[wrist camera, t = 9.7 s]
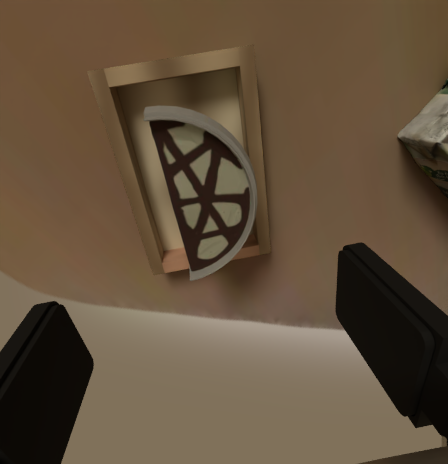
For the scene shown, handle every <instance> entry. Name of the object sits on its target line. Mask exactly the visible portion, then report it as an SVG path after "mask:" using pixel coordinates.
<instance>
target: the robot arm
mask: <svg viewBox="0 0 448 464" xmlns="http://www.w3.org/2000/svg"><path fill="white" fill-rule="evenodd" d="M336 315H337V318H338V320H339V322H340V323H341V325H342V326H343V328H344V329H345V331H346V332H347V334H348V335H349V337H350V338H351V340H352V341H353V343H354V344H355V346H356V347H357V349H358V350H359V352H360V353H361V355H362V356H363V358H364V360H365V361H366V362H367V364H368V366H369V367H370V368H371V370H372V372H373V373H374V375H375V376H376V378H377V379H378V381H379V382H380V384H381V385H382V387H383V388H384V390H385V391H386V393H387V395H388V396H389V397H390V399H391V401H392V402H393V404H394V405H395V407H396V408H397V410H398V411H399V412H400V414H402V415H403V416H408V417H409V419H410V420H411V422H412V423H413V425H414V426H415V428H418V427H423V426H428V425H433V426H434V427H435V429H436V430H437V431H438V433H439V434H440V435H441V436H442V447H440V448H435V449H430V450H424V451H419V452H414V453H409V454H403V455H399V456H393V457H388V458H383V459H378V460H373V461H368V462H364V463H359V464H448V316H447V315H446V314H445V313H444V312H443V311H442V310H440V309H439V308H438V307H437V306H436V305H435V304H433V303H432V302H431V301H430V300H429V299H428V298H427V297H425V296H424V295H423V294H422V293H421V292H420V291H418V290H417V289H416V288H415V287H414V286H413V285H412V284H410V283H409V282H408V281H407V280H406V279H405V278H403V277H402V276H401V275H400V274H399V273H398V272H396V271H395V270H394V269H393V268H392V267H391V266H390V265H388V264H387V263H386V262H385V261H384V260H383V259H381V258H380V257H379V256H378V255H377V254H376V253H375V252H373V251H372V250H371V249H370V248H369V247H368V246H366V245H365V244H364V243H356V244H351V245H345V246H344V247H343V250H342V251H339V254H338V272H337V292H336ZM93 364H94V363H93V358H92V357H91V354H90V353H89V351H88V349H87V347H86V345H85V344H84V342H83V340H82V338H81V336H80V334H79V333H78V331H77V329H76V327H75V325H74V323H73V322H72V320H71V318H70V317H69V314H68V312H67V311H66V309H65V307H64V306H63V305H61V304H60V305H59V304H58V303H57V302H55V301H52V302H47V303H41V304H37V305H34V306H33V308H31V310H30V311H29V313H28V314H27V315H26V317H25V318H24V320H23V321H22V322H21V324H20V325H19V327H18V328H17V329H16V331H15V332H14V334H13V335H12V336H11V338H10V339H9V341H8V342H7V343H6V345H5V346H4V348H3V349H2V350H1V352H0V464H61V461H62V459H63V455H64V453H65V450H66V447H67V444H68V441H69V438H70V435H71V432H72V429H73V427H74V424H75V421H76V418H77V415H78V412H79V409H80V406H81V403H82V400H83V397H84V394H85V391H86V388H87V386H88V383H89V380H90V377H91V374H92V371H93V366H94V365H93Z"/></svg>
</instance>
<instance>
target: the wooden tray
mask: <svg viewBox="0 0 448 464" xmlns="http://www.w3.org/2000/svg"><path fill="white" fill-rule="evenodd" d="M87 73H88V76H89V79H90V82H91V85H92V88H93V91H94V94H95V97H96V100H97V104H98V107H99V110H100V113H101V116H102V119H103V122H104V125H105V128H106V131H107V134H108V137H109V140H110V144H111V147H112V150H113V153H114V156H115V159H116V162H117V165H118V168H119V171H120V174H121V177H122V180H123V184H124V187H125V190H126V193H127V196H128V199H129V202H130V205H131V208H132V211H133V214H134V217H135V220H136V224H137V227H138V230H139V233H140V236H141V239H142V242H143V245H144V248H145V251H146V254H147V257H148V260H149V264H150V267H151V270H152V273H153V275H157V274H163V273H168V272H173V271H178V270H184V269H189V262H188V259H187V255H186V251H185V248H184V244H183V241H182V237H181V234H180V230H179V227H178V223H177V220H176V217H175V214H174V210H173V207H172V203H171V199H170V195H169V192H168V188H167V184H166V180H165V177H164V173H163V170H162V166H161V162H160V159H159V155H158V151H157V148H156V144H155V141H154V139H153V136H152V133H151V128H150V124H149V122H148V121H144V120H143V119H144V118H145V117H144V110H145V107H151V106H177V107H181V108H186V109H190V110H194V111H196V112H199V113H201V114H204V115H206V116H208V117H210V118H211V119H213V120H215V121H216V122H218V123H220V124H221V125H222V126H223V127H224V128H226V129H227V130H228V131H229V132H230V133H232V135H233V136H234V137H235V138H236V139H237V140H238V142H239V143H240V144H241V145H242V147H243V149H244V150H245V152H246V154H247V155H248V157H249V159H250V162H251V164H252V167H253V169H254V173H255V178H256V183H257V211H256V217H255V221H254V224H253V227H252V230H251V232H250V234H249V236H248V238H247V240H246V242H245V243H244V245H243V246H242V248H241V249H240V251H239V252H238V253H237V254H236V255H235V256H234V257H233V258H232V259H231V260H236V259H242V258H247V257H252V256H257V255H263V254H268V253H271V248H270V236H269V224H268V211H267V199H266V187H265V174H264V162H263V150H262V137H261V125H260V113H259V101H258V88H257V76H256V64H255V51H254V45H248V46H242V47H236V48H229V49H223V50H217V51H211V52H205V53H198V54H192V55H186V56H180V57H174V58H167V59H161V60H155V61H149V62H143V63H136V64H130V65H124V66H118V67H112V68H105V69H99V70H93V71H87ZM231 260H230V261H231Z"/></svg>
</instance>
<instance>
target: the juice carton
mask: <svg viewBox="0 0 448 464" xmlns="http://www.w3.org/2000/svg"><path fill="white" fill-rule="evenodd" d="M397 137H398V138H399V139H400V140H401V141H402V142H403V143H404V145H405V147H406V148H407V149H408V150H409V152H410V153H411V156H412V157H413V158H414V161H415V163H417V164H418V165H419V166H420V168H421V169H422V170H423V171H424V172H425V173H426V174H427V175H428V176H429V177H430V178H431V179H432V181H433V182H434V183H435V184H436V185H437V186H438V187H439V188H440V190H441V191H442V193H443V194H444V195H445V196H446V197H447V198H448V78H447V80H446V82H445V84H444V86H443V87H442V89H441V90H440V91H439V92H438V93H437V94H436V95H435V97H434V98H433V99H432V100H431V101H430V102H429V103H428V104H427V105H426V106H425V107H424V108H423V109H422V110H421V112H420V113H419V114H418V115H417V116H416V117H415V118H414V119H413V120H412V121H411V122H410V123H409V124H407V125H406V126H405V127H404V129H403V130H401V131H400V132H399V134H398V136H397Z"/></svg>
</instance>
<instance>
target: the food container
mask: <svg viewBox="0 0 448 464" xmlns="http://www.w3.org/2000/svg"><path fill="white" fill-rule="evenodd" d="M144 117H145V118H144V119H143V120H144V121H148V122H149V124H150V128H151V133H152V136H153V139H154V141H155V144H156V148H157V151H158V155H159V159H160V162H161V166H162V170H163V173H164V177H165V180H166V184H167V188H168V192H169V195H170V199H171V203H172V207H173V210H174V214H175V217H176V220H177V223H178V227H179V230H180V234H181V237H182V241H183V244H184V248H185V251H186V255H187V259H188V262H189V269H190V281H193V280H196V279H200V278H203V277H205V276H207V275H209V274H212V273H213V272H215V271H217V270H218V269H220V268H222V267H223V266H224V265H225V264H227V263H228V262H229V261H230V260H231V259H232V258H233V257H234V256H235V255H236V254H237V253H238V252H239V251H240V249H241V248H242V246H243V245H244V243H245V242H246V240H247V238H248V236H249V234H250V232H251V230H252V227H253V224H254V221H255V217H256V211H257V183H256V178H255V173H254V169H253V167H252V164H251V162H250V159H249V157H248V155H247V154H246V152H245V150H244V149H243V147H242V145H241V144H240V143H239V142H238V140H237V139H236V138H235V137H234V136H233V135H232V133H230V132H229V131H228V130H227V129H226V128H224V127H223V126H222V125H221V124H220V123H218V122H216V121H215V120H213V119H211V118H210V117H208V116H206V115H204V114H201V113H199V112H196V111H194V110H190V109H186V108H181V107H177V106H151V107H145V110H144Z"/></svg>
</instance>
